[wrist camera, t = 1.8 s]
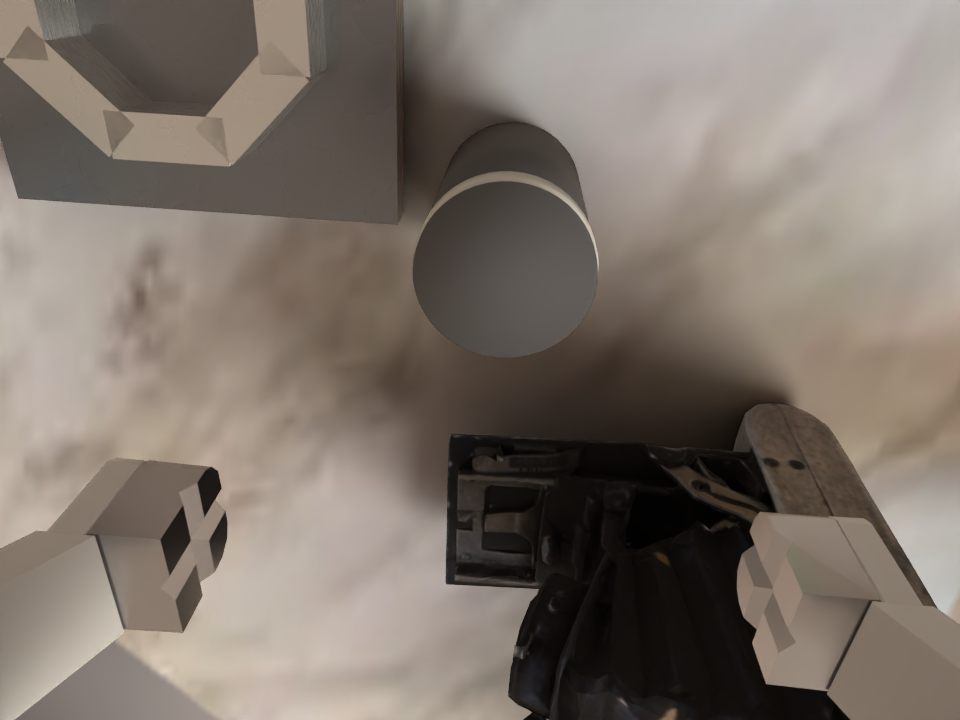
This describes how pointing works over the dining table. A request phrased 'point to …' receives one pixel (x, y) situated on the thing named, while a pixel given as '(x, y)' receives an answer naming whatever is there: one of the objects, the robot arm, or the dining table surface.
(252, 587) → the dining table surface
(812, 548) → the robot arm
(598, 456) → the vintage camera
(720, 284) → the dining table surface
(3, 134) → the mount plate
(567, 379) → the dining table surface
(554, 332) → the lens
